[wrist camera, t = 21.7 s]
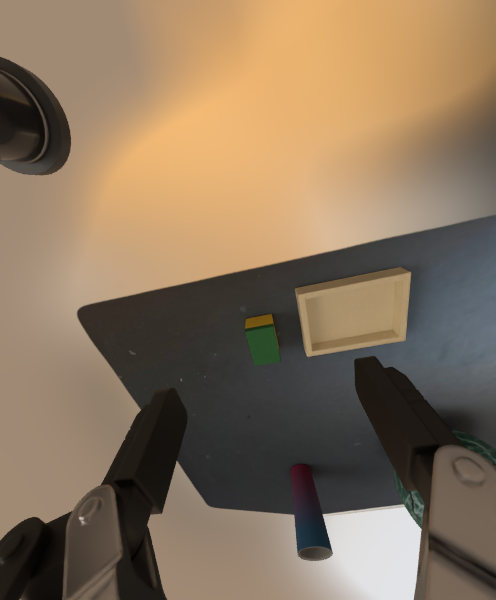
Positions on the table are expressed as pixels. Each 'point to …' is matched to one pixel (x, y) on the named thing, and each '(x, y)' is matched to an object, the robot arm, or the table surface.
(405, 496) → the decorative sphere
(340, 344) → the tray
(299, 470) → the cup
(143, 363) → the table surface
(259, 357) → the sponge
